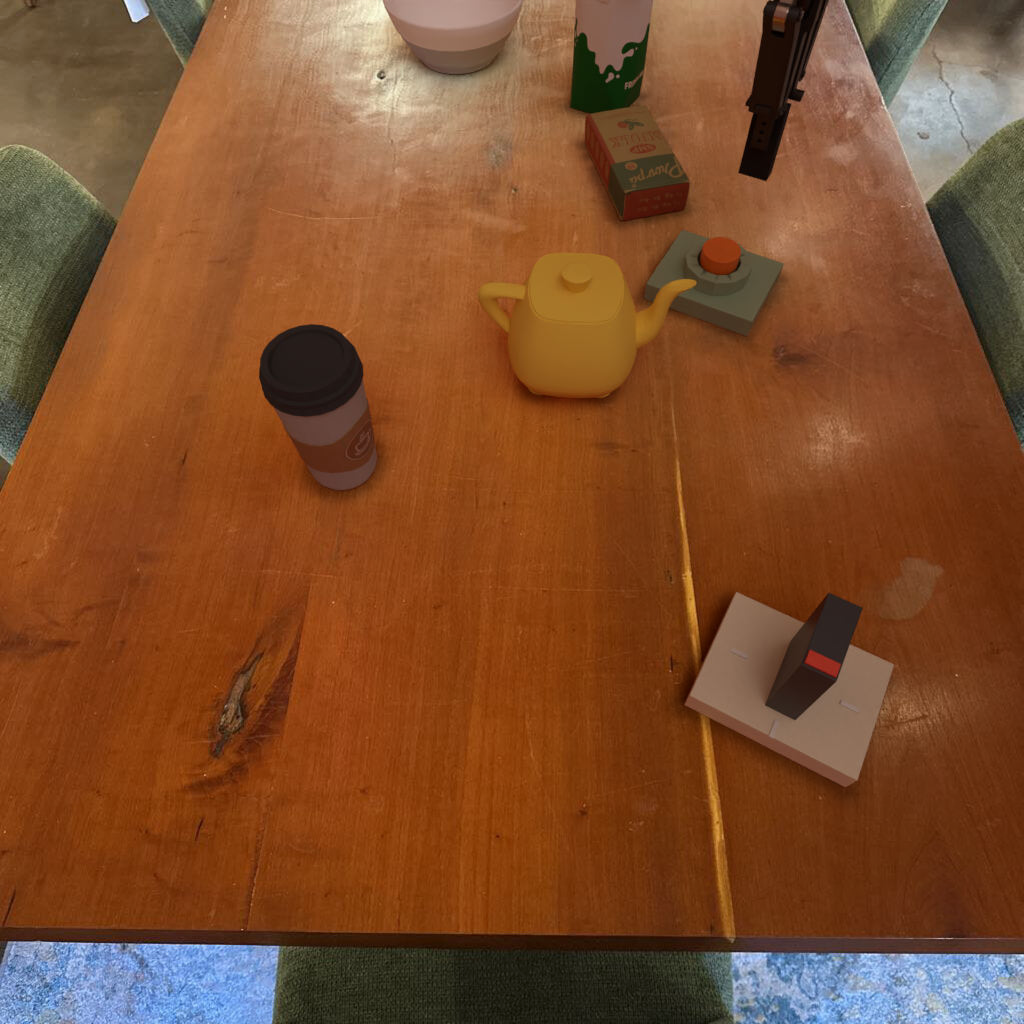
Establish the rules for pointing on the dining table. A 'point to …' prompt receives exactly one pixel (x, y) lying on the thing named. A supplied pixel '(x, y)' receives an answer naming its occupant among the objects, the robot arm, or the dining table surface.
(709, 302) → the housing
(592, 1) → the milk carton
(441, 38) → the bowl
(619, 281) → the teapot
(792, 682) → the dark grey rectangular block
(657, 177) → the carton
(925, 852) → the dining table surface
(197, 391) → the dining table surface
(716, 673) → the panel
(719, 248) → the button
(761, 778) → the dining table surface
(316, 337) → the coffee cup
